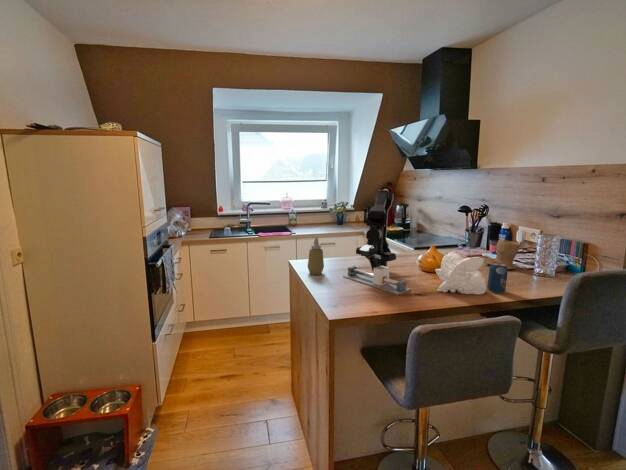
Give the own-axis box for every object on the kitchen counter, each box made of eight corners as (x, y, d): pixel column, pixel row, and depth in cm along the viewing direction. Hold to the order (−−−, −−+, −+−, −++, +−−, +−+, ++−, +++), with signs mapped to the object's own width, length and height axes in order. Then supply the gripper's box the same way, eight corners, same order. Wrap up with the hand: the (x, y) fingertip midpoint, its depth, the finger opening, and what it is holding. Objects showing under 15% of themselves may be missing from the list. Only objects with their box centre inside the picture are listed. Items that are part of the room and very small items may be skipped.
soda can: (504, 295, 146) (507, 267, 144) (486, 291, 149) (489, 264, 147) (505, 290, 152) (508, 263, 149) (487, 287, 155) (490, 261, 153)
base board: (343, 277, 167) (343, 275, 166) (356, 273, 172) (356, 272, 172) (397, 294, 144) (397, 293, 144) (410, 290, 149) (410, 288, 149)
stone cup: (521, 269, 186) (525, 241, 183) (507, 271, 181) (510, 243, 178) (495, 262, 199) (498, 236, 197) (481, 264, 194) (484, 238, 191)
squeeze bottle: (322, 276, 167) (323, 239, 164) (305, 275, 169) (306, 238, 165) (325, 271, 175) (326, 236, 172) (309, 270, 176) (309, 235, 173)
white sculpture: (506, 274, 143) (471, 250, 138) (480, 316, 143) (444, 293, 138) (475, 265, 161) (444, 243, 156) (453, 302, 161) (420, 281, 156)
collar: (372, 283, 155) (373, 267, 154) (381, 280, 159) (382, 265, 158) (380, 285, 152) (380, 269, 151) (388, 283, 156) (389, 267, 155)
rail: (347, 276, 168) (348, 267, 167) (354, 274, 170) (354, 265, 170) (399, 293, 146) (400, 282, 145) (405, 291, 148) (406, 280, 148)
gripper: (348, 236, 157) (346, 270, 159) (381, 243, 143) (379, 280, 146) (364, 234, 164) (363, 266, 167) (397, 240, 150) (395, 275, 153)
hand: (374, 272), depth 158 cm, fingers closed
